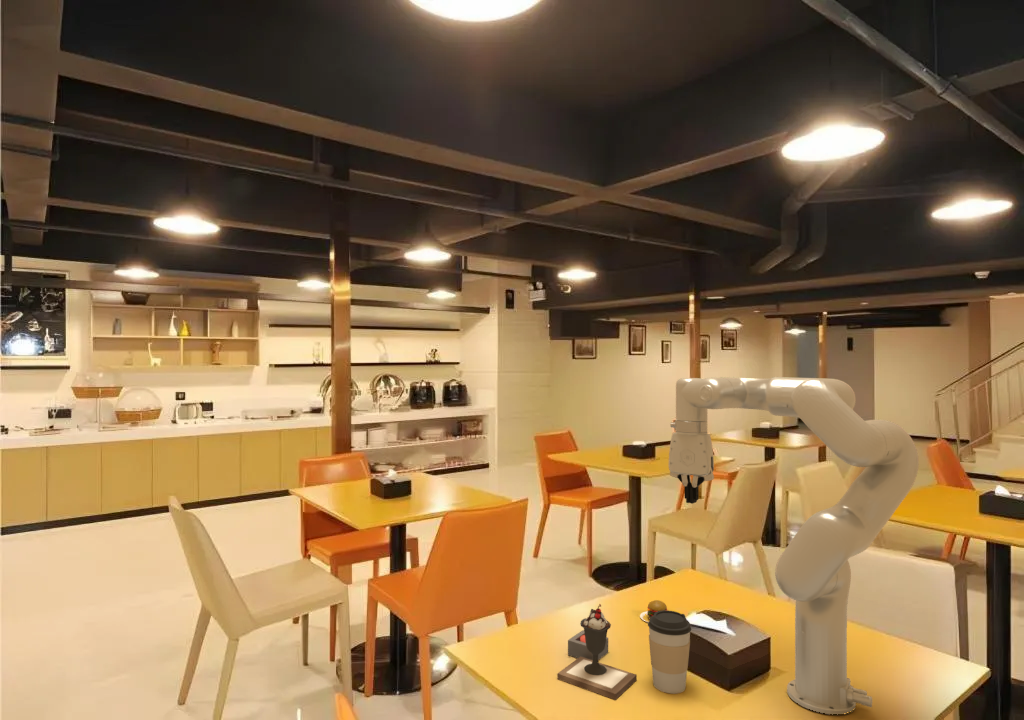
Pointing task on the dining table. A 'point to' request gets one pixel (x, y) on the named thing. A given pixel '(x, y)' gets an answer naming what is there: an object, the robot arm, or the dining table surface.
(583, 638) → the button
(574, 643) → the button base
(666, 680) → the coffee cup
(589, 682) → the drawing board
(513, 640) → the dining table surface
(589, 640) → the sundae
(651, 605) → the hamburger
